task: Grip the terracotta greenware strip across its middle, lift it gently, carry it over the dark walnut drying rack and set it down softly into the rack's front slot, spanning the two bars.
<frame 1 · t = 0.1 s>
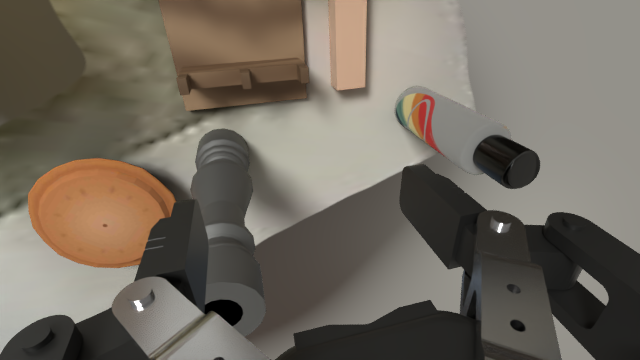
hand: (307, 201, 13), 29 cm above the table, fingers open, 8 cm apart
lotion bottle: (411, 105, 45), on the table
strip: (342, 2, 37), on the table
rack: (234, 7, 34), on the table
pie: (118, 201, 41), on the table
candle holder: (223, 151, 41), on the table
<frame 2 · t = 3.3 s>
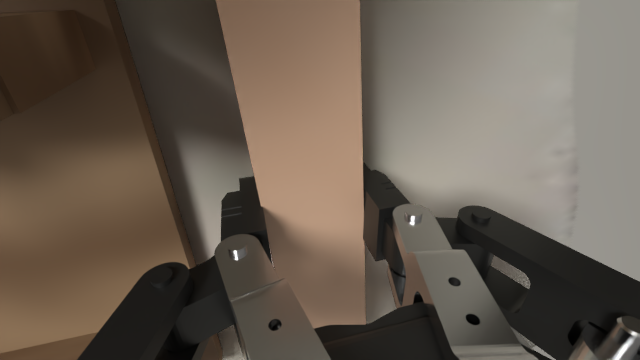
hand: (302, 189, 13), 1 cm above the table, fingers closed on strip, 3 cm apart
strip: (300, 180, 14), on the table, touching gripper
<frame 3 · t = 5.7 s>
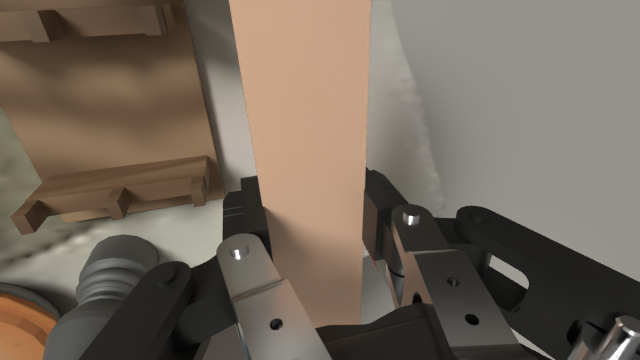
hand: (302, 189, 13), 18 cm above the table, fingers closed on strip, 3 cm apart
strip: (300, 182, 14), point 17 cm above the table, touching gripper
rack: (113, 101, 26), on the table
candle holder: (126, 257, 34), on the table
when the fingers open (6 cm above the table, at t = 8.2 s): strip stays where it is, resting on rack.
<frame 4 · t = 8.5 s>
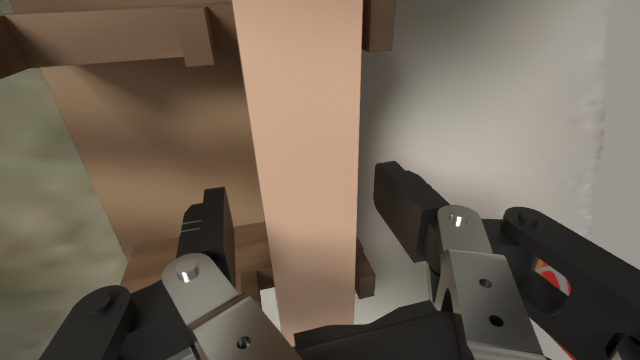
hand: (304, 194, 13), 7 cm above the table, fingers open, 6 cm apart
lotion bottle: (504, 241, 29), on the table
strip: (297, 174, 15), point 5 cm above the table, touching rack
rack: (229, 140, 18), on the table
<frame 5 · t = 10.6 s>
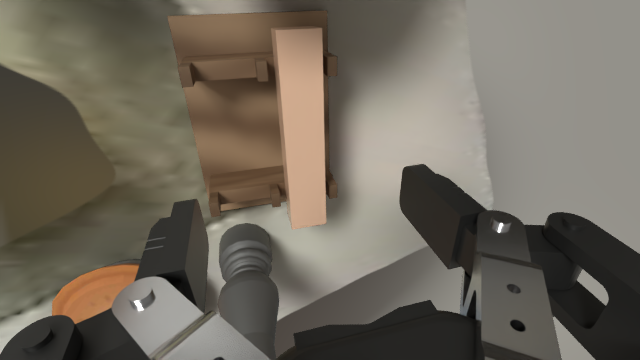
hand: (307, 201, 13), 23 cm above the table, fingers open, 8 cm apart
strip: (298, 131, 31), point 5 cm above the table, touching rack
rack: (262, 118, 34), on the table
pie: (138, 292, 41), on the table
candle holder: (244, 242, 41), on the table
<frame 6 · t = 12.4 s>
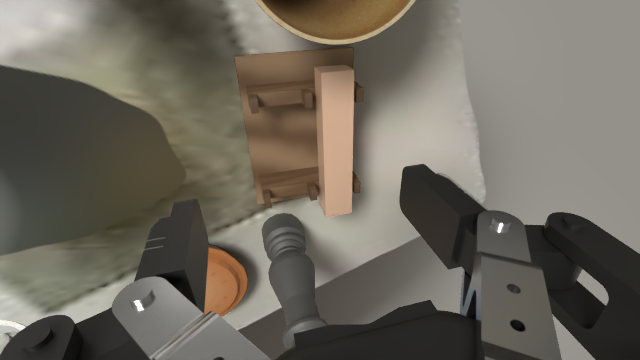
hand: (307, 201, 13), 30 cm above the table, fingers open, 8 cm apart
strip: (331, 142, 40), point 5 cm above the table, touching rack
rack: (300, 130, 43), on the table
pie: (195, 269, 51), on the table
candle holder: (281, 228, 51), on the table
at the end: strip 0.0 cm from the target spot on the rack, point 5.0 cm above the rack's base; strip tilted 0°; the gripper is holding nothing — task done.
